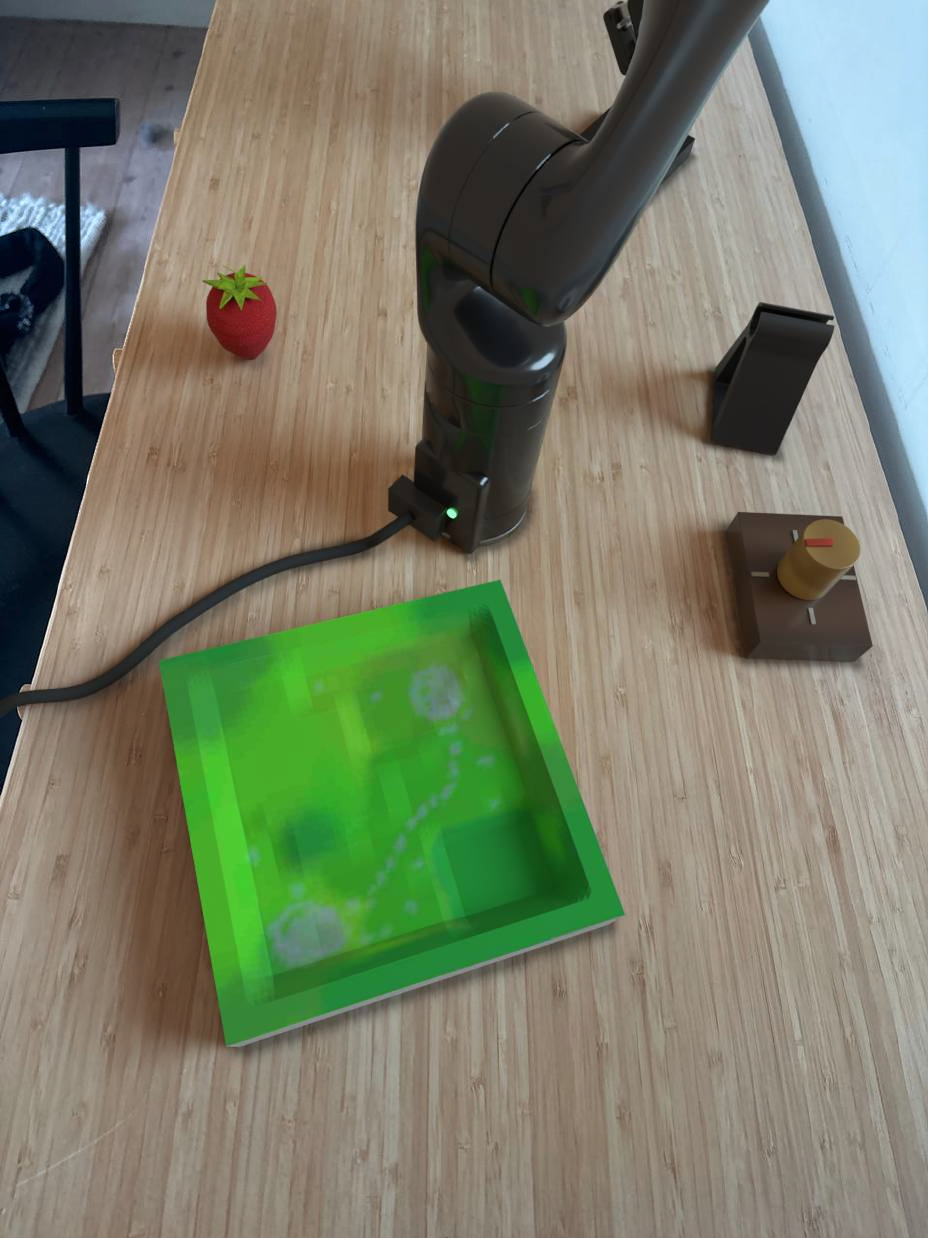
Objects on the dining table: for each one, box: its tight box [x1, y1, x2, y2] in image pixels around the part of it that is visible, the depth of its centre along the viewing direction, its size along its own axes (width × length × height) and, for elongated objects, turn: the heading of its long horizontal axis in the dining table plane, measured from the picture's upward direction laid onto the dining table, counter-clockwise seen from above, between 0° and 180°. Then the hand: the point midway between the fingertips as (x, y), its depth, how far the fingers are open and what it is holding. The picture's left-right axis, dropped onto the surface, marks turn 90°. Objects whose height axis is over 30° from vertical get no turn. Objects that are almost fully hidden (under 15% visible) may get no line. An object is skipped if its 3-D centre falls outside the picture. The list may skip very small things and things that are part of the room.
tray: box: [158, 579, 626, 1048], centre depth 59 cm, size 25×25×5 cm
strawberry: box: [202, 263, 278, 361], centre depth 74 cm, size 6×8×10 cm
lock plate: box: [725, 511, 874, 663], centre depth 71 cm, size 12×9×3 cm
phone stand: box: [710, 301, 836, 456], centre depth 75 cm, size 9×6×12 cm, turn 170°
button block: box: [579, 106, 696, 189], centre depth 94 cm, size 10×10×4 cm
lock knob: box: [777, 519, 861, 600], centre depth 67 cm, size 4×4×5 cm
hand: (639, 122), depth 92 cm, fingers closed
